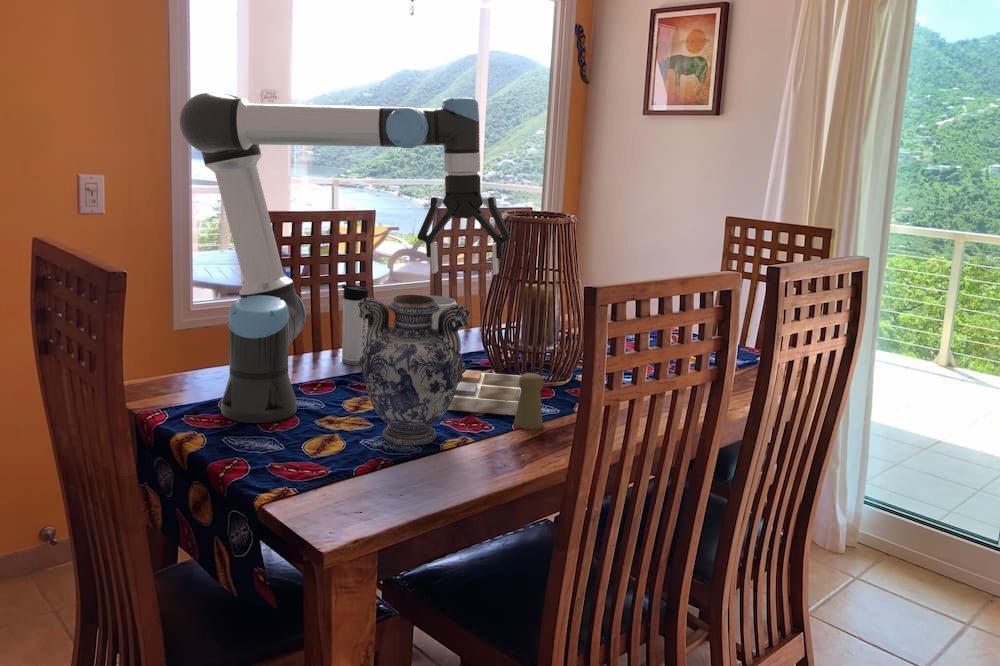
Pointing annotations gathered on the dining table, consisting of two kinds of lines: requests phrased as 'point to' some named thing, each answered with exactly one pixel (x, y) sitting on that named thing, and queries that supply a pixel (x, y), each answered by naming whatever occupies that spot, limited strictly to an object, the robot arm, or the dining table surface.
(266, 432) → the dining table surface
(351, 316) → the travel mug
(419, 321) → the decorative vase
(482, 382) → the socket board
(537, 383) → the cork
